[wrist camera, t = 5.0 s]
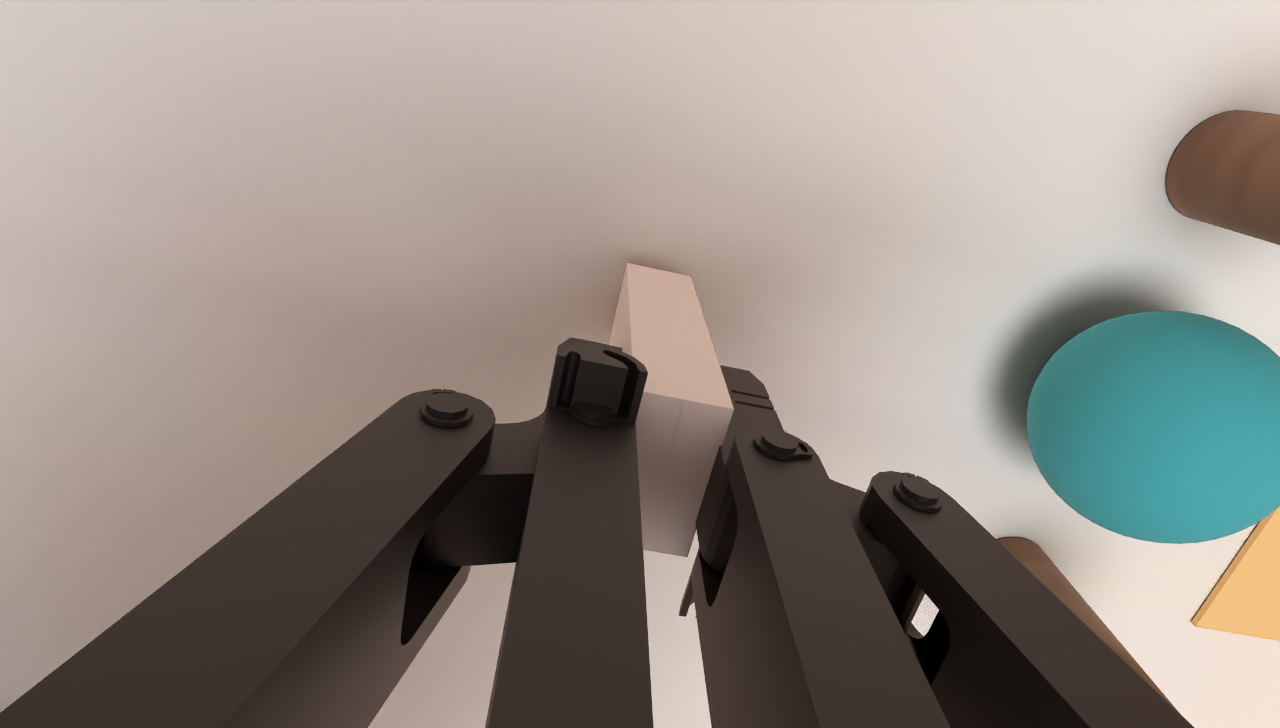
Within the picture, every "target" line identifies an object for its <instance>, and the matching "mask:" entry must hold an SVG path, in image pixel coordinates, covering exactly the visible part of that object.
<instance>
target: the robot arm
mask: <svg viewBox="0 0 1280 728" xmlns="http://www.w3.org/2000/svg"><path fill="white" fill-rule="evenodd" d="M495 419H496V418H495V416H494V413H493V411H492V409H491V408H490V407H489V406H487V405H486V404H485V403H484V402H483V401H481V400H479V399H476V398H474V397H472V396H469V395H467V394H463V393H458V392H456V391H453V390H446V389H444V390H441V389H432V390H428V391H422V392H416V393H412V394H410V395H408V396H406V397H404V398H402V399H400V400H399V401H398V402H397V403H395V404H394V405H393V406H391V407H390V408H389V409H388V410H386V411H385V412H384V413H383V414H381V415H380V416H379V417H377V418H376V419H375V420H374V421H372V422H371V423H370V424H368V425H367V426H366V427H365V428H363V429H362V430H361V431H360V432H358V433H357V434H356V435H354V436H353V437H352V438H351V439H349V440H348V441H347V442H346V443H344V444H343V445H342V446H340V447H339V448H338V449H337V450H335V451H334V452H333V453H331V454H330V455H329V456H328V457H326V458H325V459H324V460H323V461H321V462H320V463H319V464H317V465H316V466H315V467H314V468H312V469H311V470H310V471H308V472H307V473H306V474H305V475H303V476H302V477H301V478H300V479H298V480H297V481H296V482H294V483H293V484H292V485H291V486H289V487H288V488H287V489H286V490H284V491H283V492H282V493H280V494H279V495H278V496H277V497H275V498H274V499H273V500H271V501H270V502H269V503H268V504H266V505H265V506H264V507H263V508H261V509H260V510H259V511H257V512H256V513H255V514H254V515H252V516H251V517H250V518H248V519H247V520H246V521H245V522H243V523H242V524H241V525H240V526H238V527H237V528H236V529H234V530H233V531H232V532H231V533H229V534H228V535H227V536H226V537H224V538H223V539H222V540H220V541H219V542H218V543H217V544H215V545H214V546H213V547H211V548H210V549H209V550H208V551H206V552H205V553H204V554H203V555H201V556H200V557H199V558H197V559H196V560H195V561H194V562H192V563H191V564H190V565H189V566H187V567H186V568H185V569H183V570H182V571H181V572H180V573H178V574H177V575H176V576H174V577H173V578H172V579H171V580H169V581H168V582H167V583H166V584H164V585H163V586H162V587H160V588H159V589H158V590H157V591H155V592H154V593H153V594H151V595H150V596H149V597H148V598H146V599H145V600H144V601H143V602H141V603H140V604H139V605H137V606H136V607H135V608H134V609H132V610H131V611H130V612H129V613H127V614H126V615H125V616H123V617H122V618H121V619H120V620H118V621H117V622H116V623H114V624H113V625H112V626H111V627H109V628H108V629H107V630H106V631H104V632H103V633H102V634H100V635H99V636H98V637H97V638H95V639H94V640H93V641H92V642H90V643H89V644H88V645H86V646H85V647H84V648H83V649H81V650H80V651H79V652H77V653H76V654H75V655H74V656H72V657H71V658H70V659H69V660H67V661H66V662H65V663H63V664H62V665H61V666H60V667H58V668H57V669H56V670H54V671H53V672H52V673H51V674H49V675H48V676H47V677H46V678H44V679H43V680H42V681H40V682H39V683H38V684H37V685H35V686H34V687H33V688H32V689H30V690H29V691H28V692H26V693H25V694H24V695H23V696H21V697H20V698H19V699H17V700H16V701H15V702H14V703H12V704H11V705H10V706H9V707H7V708H6V709H5V710H3V711H2V712H1V713H0V728H368V726H369V725H370V723H371V722H372V720H373V719H374V717H375V716H376V714H377V713H378V711H379V710H380V708H381V707H382V705H383V704H384V702H385V701H386V699H387V698H388V696H389V695H390V693H391V692H392V691H393V689H394V688H395V686H396V685H397V683H398V682H399V680H400V679H401V677H402V676H403V674H404V673H405V671H406V670H407V668H408V667H409V665H410V664H411V662H412V661H413V659H414V658H415V656H416V655H417V653H418V652H419V650H420V649H421V647H422V646H423V644H424V643H425V641H426V640H427V638H428V637H429V635H430V634H431V633H432V631H433V630H434V628H435V627H436V625H437V624H438V622H439V621H440V619H441V618H442V616H443V615H444V613H445V612H446V610H447V609H448V607H449V606H450V604H451V603H452V601H453V600H454V598H455V597H456V595H457V594H458V592H459V591H460V589H461V588H462V586H463V585H464V583H465V582H466V580H467V577H468V574H469V571H470V567H471V566H472V565H486V564H499V563H512V562H516V565H515V571H514V576H513V581H512V587H511V592H510V597H509V603H508V608H507V613H506V619H505V624H504V629H503V635H502V640H501V645H500V651H499V656H498V661H497V667H496V672H495V677H494V683H493V688H492V693H491V699H490V704H489V709H488V715H487V720H486V725H485V728H653V715H652V697H651V680H650V663H649V646H648V628H647V611H646V594H645V577H644V560H643V550H649V551H655V552H661V553H667V554H673V555H679V556H685V557H687V556H688V553H689V550H690V547H691V544H692V540H693V537H694V534H695V531H696V529H697V535H698V541H699V550H698V553H697V556H696V559H695V562H694V565H693V568H692V571H691V575H690V578H689V581H688V584H687V587H686V590H685V593H684V596H683V599H682V603H681V606H680V612H679V616H685V617H686V615H687V612H688V608H689V606H690V605H691V604H692V603H693V602H695V609H696V618H697V623H698V631H699V638H700V645H701V652H702V660H703V667H704V674H705V682H706V689H707V696H708V703H709V711H710V718H711V725H712V728H1194V727H1193V726H1192V725H1191V724H1190V723H1189V722H1188V721H1187V720H1186V719H1185V718H1184V717H1183V716H1182V715H1180V714H1179V713H1178V712H1177V711H1176V710H1175V709H1174V708H1173V707H1172V706H1171V705H1170V704H1169V703H1168V702H1167V701H1166V700H1165V699H1164V698H1163V697H1161V696H1160V695H1159V694H1158V693H1157V692H1156V691H1155V690H1154V689H1153V688H1152V687H1151V686H1150V685H1149V684H1148V683H1147V682H1146V681H1145V680H1144V679H1143V678H1141V677H1140V676H1139V675H1138V674H1137V673H1136V672H1135V671H1134V670H1133V669H1132V668H1131V667H1130V666H1129V665H1128V664H1127V663H1126V662H1125V661H1124V660H1123V659H1121V658H1120V657H1119V656H1118V655H1117V654H1116V653H1115V652H1114V651H1113V650H1112V649H1111V648H1110V647H1109V646H1108V645H1107V644H1106V643H1105V642H1104V641H1103V640H1101V639H1100V638H1099V637H1098V636H1097V635H1096V634H1095V633H1094V632H1093V631H1092V630H1091V629H1090V628H1089V627H1088V626H1087V625H1086V624H1085V623H1084V622H1083V621H1081V620H1080V619H1079V618H1078V617H1077V616H1076V615H1075V614H1074V613H1073V612H1072V611H1071V610H1070V609H1069V608H1068V607H1067V606H1066V605H1065V604H1064V603H1062V602H1061V601H1060V600H1059V599H1058V598H1057V597H1056V596H1055V595H1054V594H1053V593H1052V592H1051V591H1050V590H1049V589H1048V588H1047V587H1046V586H1045V585H1044V584H1042V583H1041V582H1040V581H1039V580H1038V579H1037V578H1036V577H1035V576H1034V575H1033V574H1032V573H1031V572H1030V571H1029V570H1028V569H1027V568H1026V567H1025V566H1024V565H1022V564H1021V563H1020V562H1019V561H1018V560H1017V559H1016V558H1015V557H1014V556H1013V555H1012V554H1011V553H1010V552H1009V551H1008V550H1007V549H1006V548H1005V547H1004V546H1002V545H1001V544H1000V543H999V542H998V541H997V540H996V539H995V538H994V537H993V536H992V535H991V534H990V533H989V532H988V531H987V530H986V529H985V528H983V527H982V526H981V525H980V524H979V523H978V522H977V521H976V520H975V519H974V518H973V517H972V516H971V515H970V514H969V513H968V512H967V511H966V510H965V509H963V508H962V507H961V506H960V505H959V504H958V503H957V502H956V501H955V500H954V499H953V498H952V497H950V496H949V495H948V494H946V493H945V492H944V491H943V490H941V489H940V488H938V487H936V486H934V485H933V484H931V483H929V481H928V480H926V479H924V478H922V477H919V476H917V477H915V475H913V474H910V473H899V472H893V471H888V472H879V473H878V474H876V475H875V476H874V477H872V480H871V482H870V485H869V487H868V489H867V492H866V493H865V492H863V491H860V490H857V489H854V488H852V487H849V486H846V485H843V484H840V483H838V482H835V481H833V480H831V479H829V477H828V475H827V473H826V471H825V469H824V467H823V465H822V462H821V460H820V458H819V456H818V455H817V454H816V452H815V451H814V450H813V449H812V447H810V446H809V445H808V444H807V443H805V442H803V441H802V440H801V439H799V438H797V437H795V436H793V435H791V434H788V433H786V432H784V430H783V428H782V425H781V423H780V421H779V418H778V416H777V414H776V412H775V411H774V407H773V405H772V402H771V400H769V395H768V393H767V391H766V388H765V386H764V384H763V383H762V382H760V381H759V380H758V379H757V378H756V377H755V376H754V375H753V374H751V373H750V372H749V371H746V370H741V369H736V368H731V367H726V366H721V365H720V364H719V361H718V358H717V355H716V352H715V349H714V346H713V343H712V340H711V337H710V333H709V330H708V327H707V324H706V321H705V318H704V315H703V312H702V309H701V306H700V303H699V299H698V296H697V293H696V290H695V287H694V284H693V281H692V278H691V276H687V275H682V274H677V273H673V272H668V271H663V270H659V269H654V268H649V267H645V266H640V265H635V264H631V263H627V266H626V270H625V274H624V279H623V283H622V287H621V292H620V296H619V301H618V305H617V309H616V314H615V318H614V322H613V327H612V331H611V335H610V340H609V344H608V345H606V344H601V343H596V342H591V341H586V340H581V339H576V338H569V339H568V340H566V341H565V342H563V343H562V344H560V345H559V346H558V349H557V354H556V359H555V364H554V369H553V374H552V379H551V384H550V389H549V395H548V400H547V405H546V409H545V411H544V412H543V413H542V414H541V415H539V416H538V417H536V418H534V419H532V420H529V421H525V422H520V423H510V424H495ZM925 593H926V595H927V596H928V597H929V598H930V599H931V601H932V602H933V603H934V604H935V605H936V606H937V608H938V609H939V612H938V614H937V615H936V617H935V619H934V621H933V623H932V625H931V627H930V629H929V631H928V633H927V634H926V635H925V636H923V635H922V634H920V633H919V632H918V631H917V630H916V628H915V627H914V626H913V624H912V623H911V621H912V619H913V617H914V615H915V613H916V611H917V609H918V607H919V605H920V603H921V601H922V599H923V597H924V595H925Z"/></svg>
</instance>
